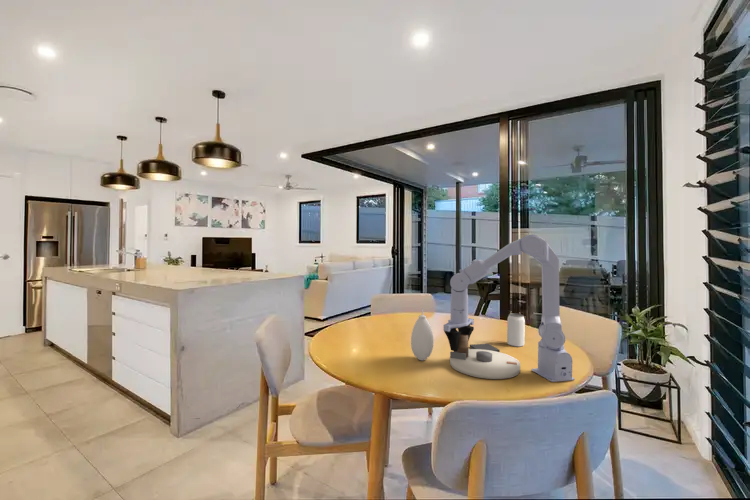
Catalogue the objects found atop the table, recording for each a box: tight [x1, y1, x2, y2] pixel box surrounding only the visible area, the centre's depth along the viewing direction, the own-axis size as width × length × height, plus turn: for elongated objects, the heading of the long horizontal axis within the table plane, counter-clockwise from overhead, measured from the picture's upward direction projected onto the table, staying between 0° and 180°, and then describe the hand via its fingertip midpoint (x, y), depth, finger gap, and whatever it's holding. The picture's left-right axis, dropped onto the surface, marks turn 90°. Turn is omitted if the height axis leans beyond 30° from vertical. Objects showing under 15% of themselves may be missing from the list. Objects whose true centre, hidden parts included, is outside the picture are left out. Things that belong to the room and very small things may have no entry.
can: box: [506, 312, 526, 348], centre depth 137 cm, size 6×6×12 cm
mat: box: [469, 343, 501, 352], centre depth 130 cm, size 8×8×1 cm
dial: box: [449, 348, 521, 380], centre depth 113 cm, size 22×22×4 cm
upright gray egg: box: [410, 308, 435, 361], centre depth 119 cm, size 8×8×18 cm
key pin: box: [456, 334, 469, 358], centre depth 115 cm, size 4×4×7 cm
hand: (458, 348), depth 115 cm, fingers open, 5 cm apart
